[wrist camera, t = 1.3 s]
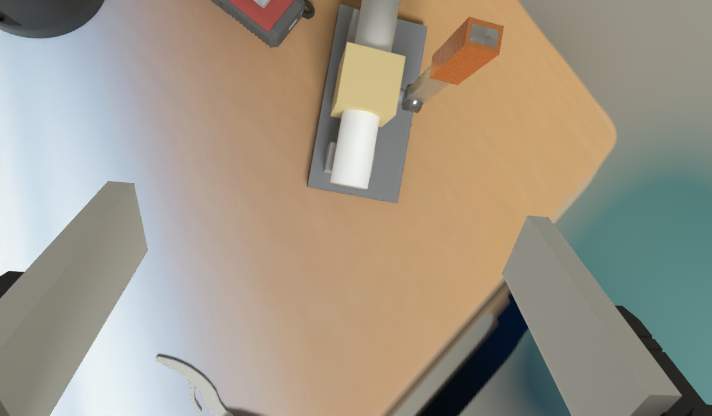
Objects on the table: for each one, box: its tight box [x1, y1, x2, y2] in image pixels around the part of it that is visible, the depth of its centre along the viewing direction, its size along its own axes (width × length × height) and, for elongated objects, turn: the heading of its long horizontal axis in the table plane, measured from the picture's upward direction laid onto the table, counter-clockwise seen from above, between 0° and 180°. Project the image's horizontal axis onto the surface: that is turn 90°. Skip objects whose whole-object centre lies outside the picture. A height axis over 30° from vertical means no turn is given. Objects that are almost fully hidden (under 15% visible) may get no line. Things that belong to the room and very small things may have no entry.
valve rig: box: [307, 0, 427, 203], centre depth 45 cm, size 22×11×10 cm, turn 170°
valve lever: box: [402, 17, 504, 113], centre depth 36 cm, size 3×3×17 cm
